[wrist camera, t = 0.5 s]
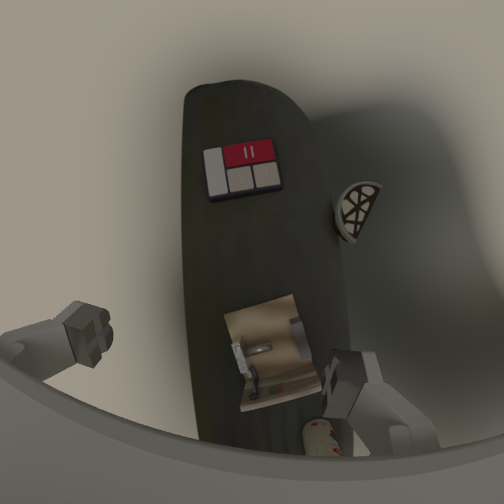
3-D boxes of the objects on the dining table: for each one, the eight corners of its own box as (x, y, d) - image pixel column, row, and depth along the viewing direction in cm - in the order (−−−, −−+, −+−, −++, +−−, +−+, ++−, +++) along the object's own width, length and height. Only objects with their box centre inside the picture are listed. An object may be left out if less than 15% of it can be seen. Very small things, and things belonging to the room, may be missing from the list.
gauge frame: (313, 366, 57) (323, 391, 44) (248, 384, 58) (241, 412, 44) (291, 293, 58) (297, 300, 45) (224, 313, 59) (211, 326, 46)
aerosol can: (334, 436, 56) (353, 488, 36) (306, 445, 56) (315, 500, 36) (328, 413, 56) (346, 464, 36) (298, 423, 56) (306, 477, 37)
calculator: (283, 185, 56) (207, 198, 56) (281, 191, 61) (210, 203, 61) (273, 135, 57) (200, 147, 57) (272, 144, 61) (203, 155, 61)
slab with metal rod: (279, 366, 56) (280, 375, 51) (247, 375, 56) (244, 384, 51) (267, 328, 56) (267, 334, 51) (234, 338, 57) (231, 344, 52)
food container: (343, 182, 59) (355, 166, 49) (368, 196, 58) (384, 184, 48) (316, 232, 59) (325, 225, 49) (342, 247, 58) (355, 243, 48)
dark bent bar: (260, 377, 56) (258, 397, 46) (253, 379, 56) (249, 399, 46) (256, 364, 56) (253, 382, 46) (248, 366, 56) (244, 384, 46)
